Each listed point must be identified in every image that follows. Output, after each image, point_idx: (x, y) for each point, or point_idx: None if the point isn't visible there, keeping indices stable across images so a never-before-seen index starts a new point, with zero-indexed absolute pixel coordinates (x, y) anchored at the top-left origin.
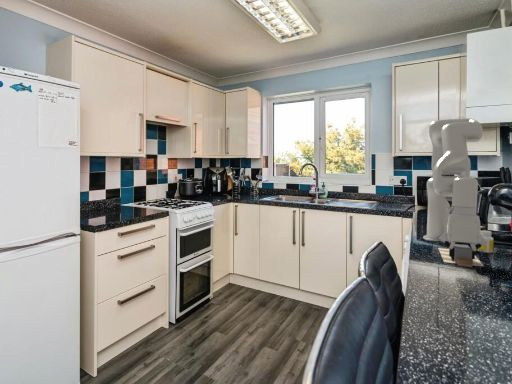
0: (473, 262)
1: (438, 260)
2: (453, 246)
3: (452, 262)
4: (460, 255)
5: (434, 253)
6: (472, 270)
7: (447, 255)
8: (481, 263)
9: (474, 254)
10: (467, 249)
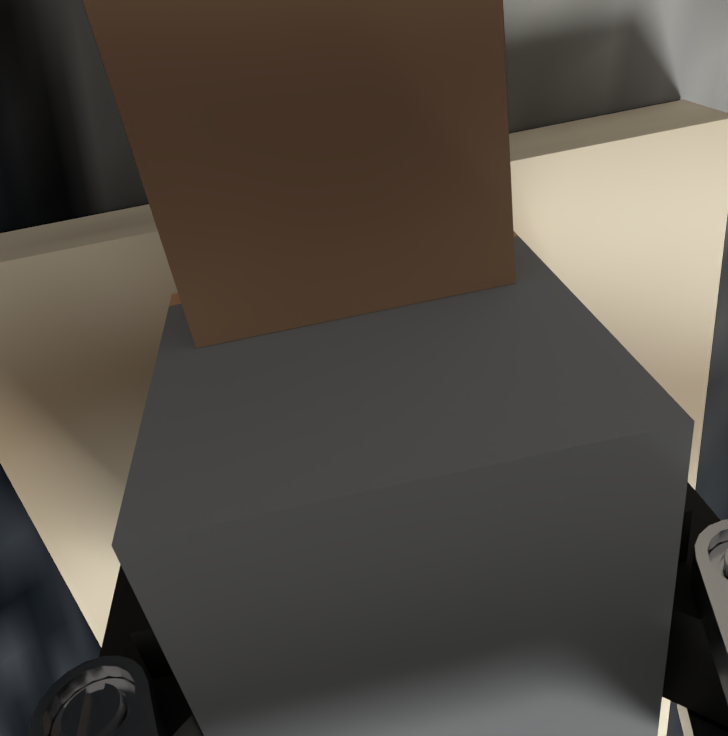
0: None
1: (704, 430)
2: (719, 606)
3: (559, 182)
4: (446, 331)
5: None
6: None
7: None
8: (15, 474)
9: (121, 601)
10: (280, 526)
